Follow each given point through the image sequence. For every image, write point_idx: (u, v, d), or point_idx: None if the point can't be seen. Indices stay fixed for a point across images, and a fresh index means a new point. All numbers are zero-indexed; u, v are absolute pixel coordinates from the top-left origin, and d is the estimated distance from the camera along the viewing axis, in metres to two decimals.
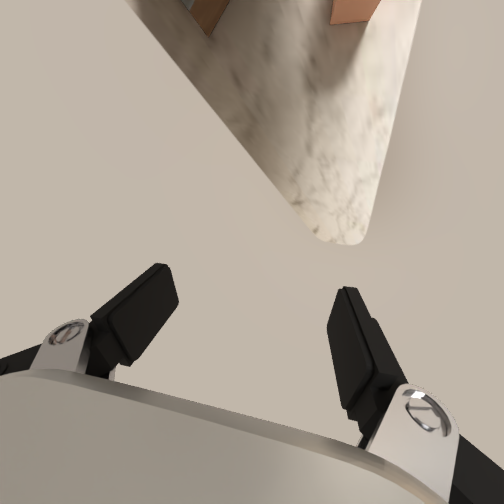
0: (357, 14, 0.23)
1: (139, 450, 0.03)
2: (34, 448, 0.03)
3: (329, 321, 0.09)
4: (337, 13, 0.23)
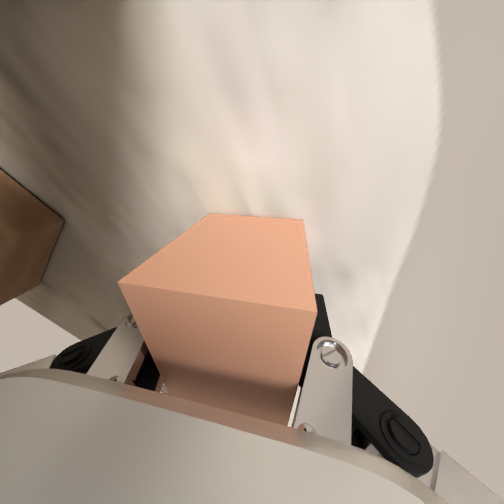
0: None
1: (139, 450, 0.03)
2: (34, 448, 0.03)
3: None
4: None
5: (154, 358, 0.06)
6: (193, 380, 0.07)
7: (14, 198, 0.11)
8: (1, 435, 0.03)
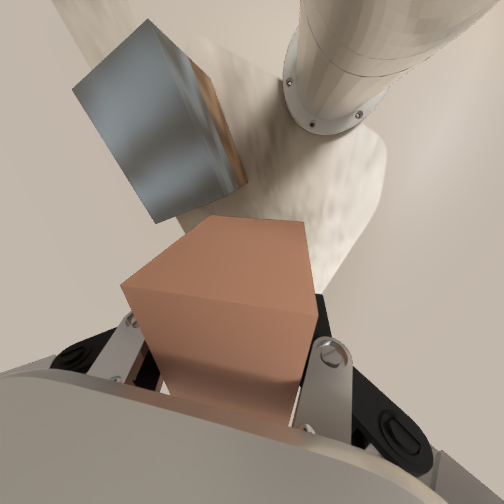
0: None
1: (139, 450, 0.03)
2: (34, 448, 0.03)
3: None
4: None
5: (156, 359, 0.06)
6: (195, 381, 0.07)
7: (241, 168, 0.28)
8: (1, 435, 0.03)
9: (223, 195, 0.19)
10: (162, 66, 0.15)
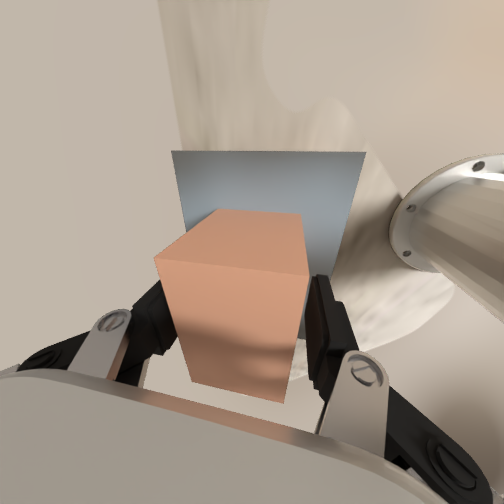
0: None
1: (139, 450, 0.03)
2: (34, 448, 0.03)
3: (306, 307, 0.10)
4: None
5: (176, 326, 0.08)
6: (208, 346, 0.08)
7: None
8: (1, 435, 0.03)
9: None
10: (340, 209, 0.10)
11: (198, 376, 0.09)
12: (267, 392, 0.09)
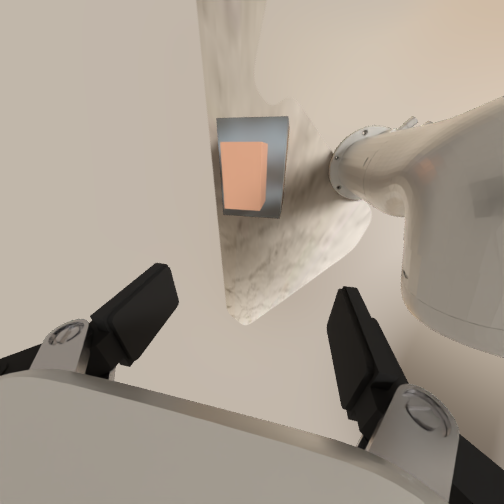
0: None
1: (139, 450, 0.03)
2: (34, 448, 0.03)
3: (329, 321, 0.09)
4: None
5: (222, 173, 0.23)
6: (233, 181, 0.23)
7: (283, 192, 0.39)
8: (1, 435, 0.03)
9: (279, 217, 0.30)
10: (282, 140, 0.25)
11: (227, 203, 0.25)
12: (253, 204, 0.24)
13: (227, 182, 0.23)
